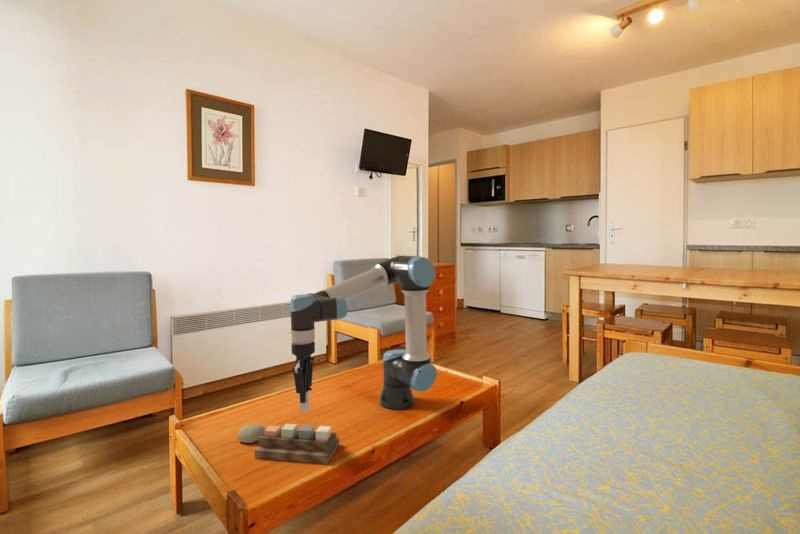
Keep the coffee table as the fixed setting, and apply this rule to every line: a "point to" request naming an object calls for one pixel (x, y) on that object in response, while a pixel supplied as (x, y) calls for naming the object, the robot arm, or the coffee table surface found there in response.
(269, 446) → the brown stepped piece
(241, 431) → the sea urchin shell
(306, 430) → the slate key
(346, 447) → the coffee table surface
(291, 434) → the sage key
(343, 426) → the coffee table surface
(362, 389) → the coffee table surface
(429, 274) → the robot arm
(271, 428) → the terracotta key
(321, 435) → the ivory key
